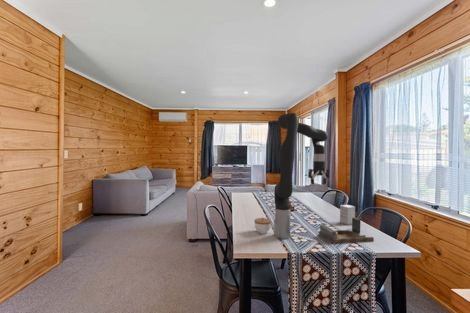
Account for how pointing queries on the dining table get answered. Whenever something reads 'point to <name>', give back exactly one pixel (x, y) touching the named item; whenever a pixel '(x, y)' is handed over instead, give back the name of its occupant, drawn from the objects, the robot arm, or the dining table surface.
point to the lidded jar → (262, 225)
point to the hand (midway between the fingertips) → (318, 184)
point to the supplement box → (347, 214)
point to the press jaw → (355, 229)
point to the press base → (340, 236)
